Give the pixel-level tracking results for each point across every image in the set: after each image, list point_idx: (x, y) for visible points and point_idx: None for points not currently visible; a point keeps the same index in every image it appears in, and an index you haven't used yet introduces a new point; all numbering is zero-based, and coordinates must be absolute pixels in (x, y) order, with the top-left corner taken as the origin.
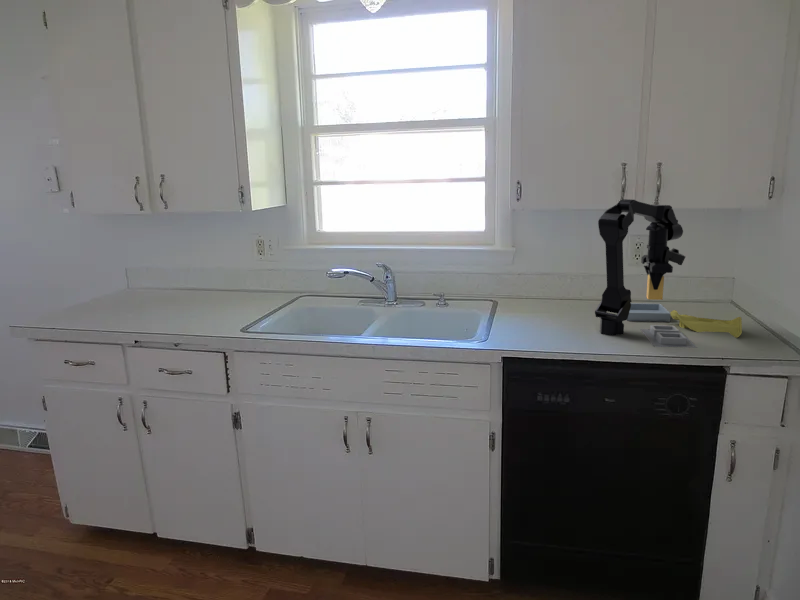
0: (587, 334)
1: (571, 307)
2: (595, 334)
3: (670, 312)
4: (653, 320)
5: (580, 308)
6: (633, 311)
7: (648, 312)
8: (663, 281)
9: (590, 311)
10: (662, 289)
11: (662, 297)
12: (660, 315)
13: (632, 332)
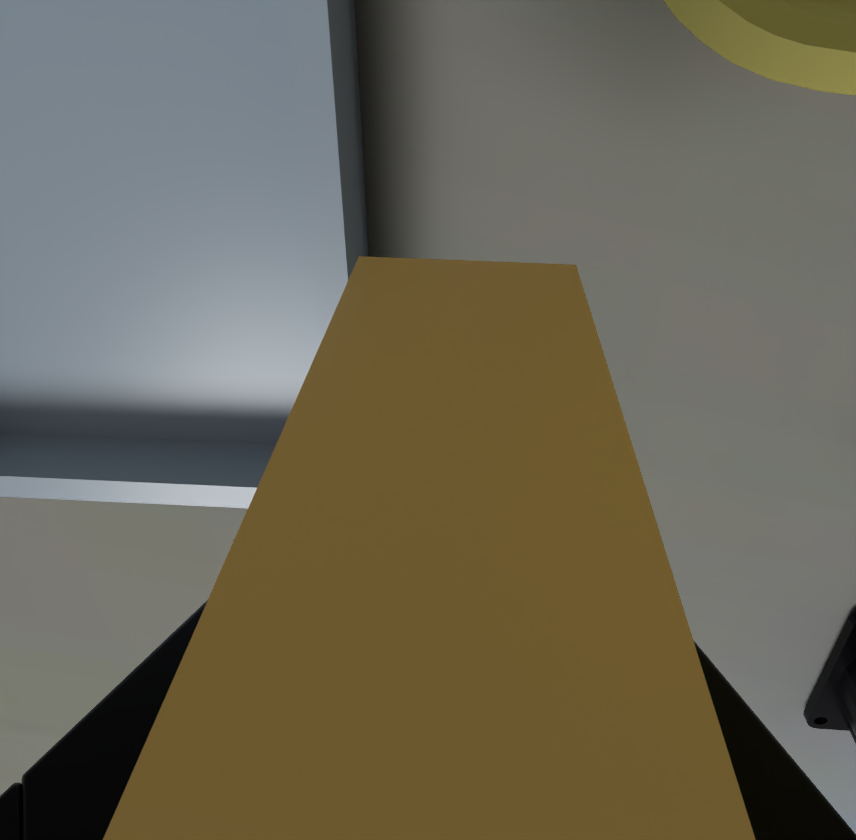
0: (796, 761)
1: (28, 725)
2: (807, 727)
3: (810, 88)
4: (362, 191)
5: (33, 685)
6: (28, 347)
7: (3, 176)
8: (695, 654)
9: (105, 646)
10: (617, 422)
11: (578, 289)
12: (340, 111)
13: (809, 497)
